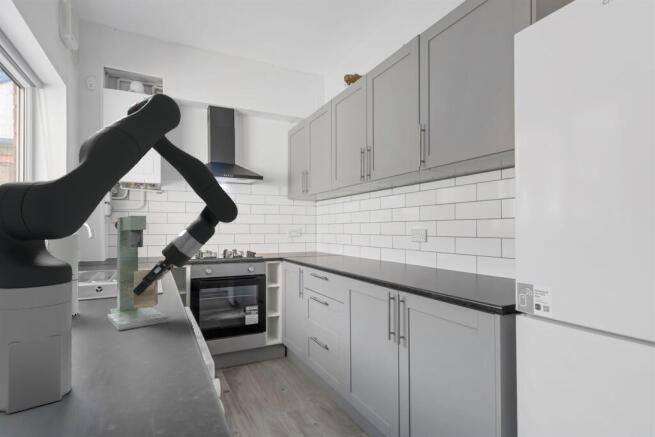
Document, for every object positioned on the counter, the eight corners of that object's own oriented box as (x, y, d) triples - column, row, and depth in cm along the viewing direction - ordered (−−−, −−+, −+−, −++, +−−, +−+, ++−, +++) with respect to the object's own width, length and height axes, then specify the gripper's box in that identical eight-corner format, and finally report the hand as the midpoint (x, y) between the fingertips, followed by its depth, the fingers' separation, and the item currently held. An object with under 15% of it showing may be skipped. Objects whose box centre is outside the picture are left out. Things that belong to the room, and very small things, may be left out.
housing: (153, 306, 98) (153, 271, 98) (133, 308, 97) (133, 271, 97) (157, 303, 103) (157, 269, 103) (139, 304, 102) (139, 270, 102)
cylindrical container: (44, 316, 107) (45, 235, 108) (70, 311, 113) (71, 234, 114) (56, 318, 104) (57, 235, 104) (82, 313, 110) (83, 234, 111)
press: (167, 321, 97) (167, 215, 98) (118, 330, 89) (118, 214, 90) (138, 304, 122) (138, 219, 123) (98, 310, 114) (98, 219, 115)
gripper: (178, 239, 109) (136, 279, 106) (167, 240, 95) (119, 286, 92) (196, 255, 110) (155, 296, 107) (188, 258, 96) (141, 305, 93)
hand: (139, 291), depth 100 cm, fingers closed on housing, 5 cm apart
